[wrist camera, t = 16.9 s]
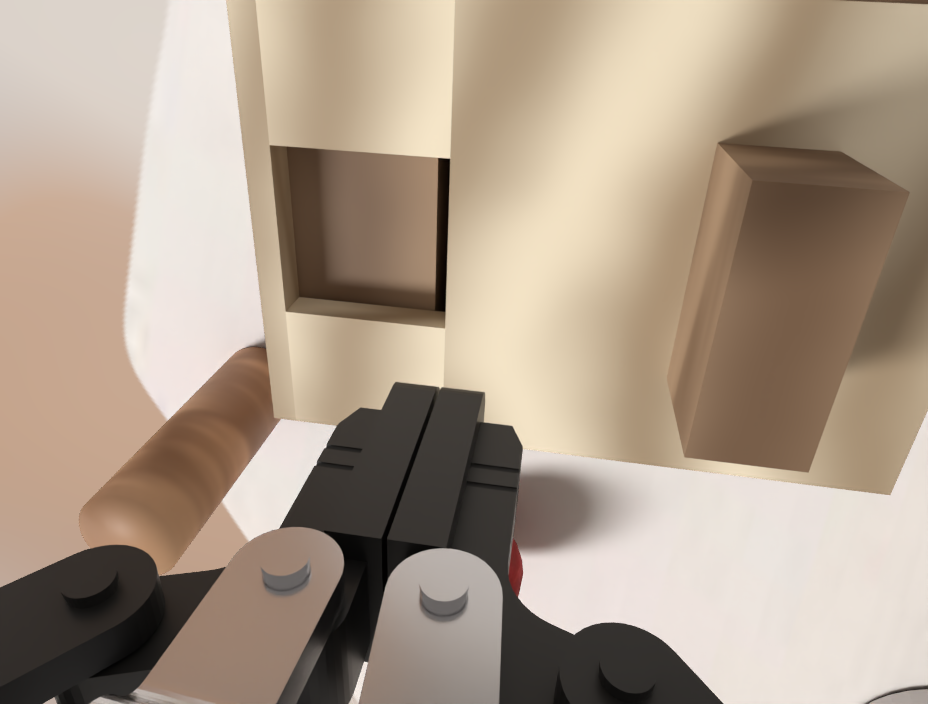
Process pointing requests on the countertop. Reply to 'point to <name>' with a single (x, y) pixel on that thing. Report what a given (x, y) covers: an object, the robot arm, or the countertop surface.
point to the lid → (620, 221)
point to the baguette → (186, 465)
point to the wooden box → (375, 225)
